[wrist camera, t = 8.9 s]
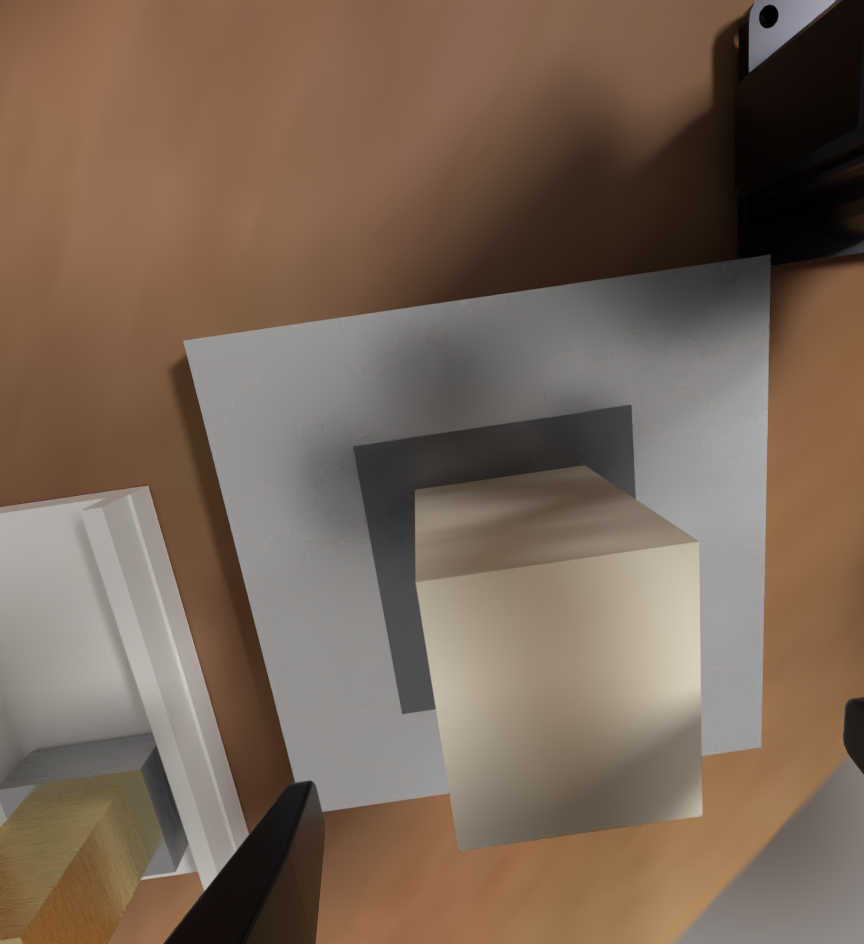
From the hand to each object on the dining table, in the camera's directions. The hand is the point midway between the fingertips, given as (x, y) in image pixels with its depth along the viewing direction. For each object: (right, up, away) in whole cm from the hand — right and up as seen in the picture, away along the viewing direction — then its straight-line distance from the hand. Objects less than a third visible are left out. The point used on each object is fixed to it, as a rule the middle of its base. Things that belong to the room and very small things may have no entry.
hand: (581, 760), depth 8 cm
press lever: (-13, -6, +9) cm, 17 cm away
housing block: (0, +2, +7) cm, 7 cm away
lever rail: (-14, -3, +9) cm, 17 cm away
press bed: (0, +2, +8) cm, 8 cm away
